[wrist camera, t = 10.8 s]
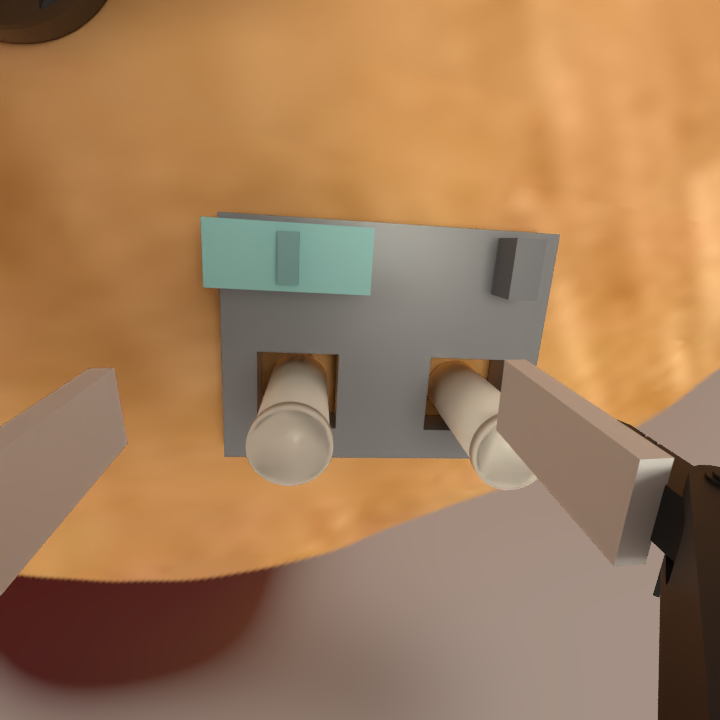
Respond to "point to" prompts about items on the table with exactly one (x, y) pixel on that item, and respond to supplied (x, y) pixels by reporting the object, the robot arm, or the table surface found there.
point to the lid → (286, 256)
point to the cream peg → (477, 424)
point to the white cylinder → (292, 423)
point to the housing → (392, 331)
